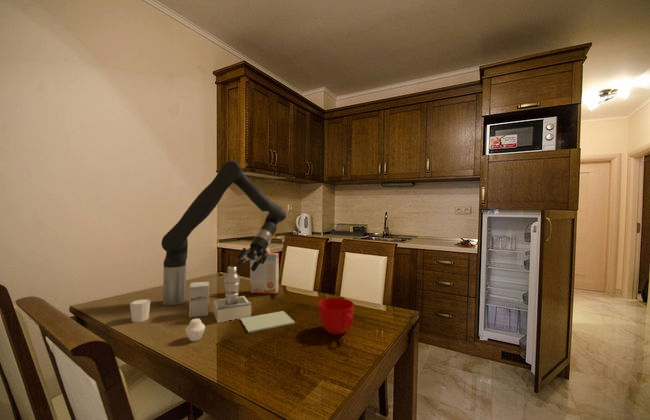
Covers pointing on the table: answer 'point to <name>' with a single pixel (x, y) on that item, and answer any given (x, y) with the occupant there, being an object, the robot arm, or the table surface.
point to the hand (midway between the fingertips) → (244, 269)
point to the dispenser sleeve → (231, 310)
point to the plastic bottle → (231, 286)
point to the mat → (266, 321)
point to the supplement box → (198, 299)
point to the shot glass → (140, 310)
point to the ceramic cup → (336, 314)
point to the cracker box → (265, 275)
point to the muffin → (195, 329)
